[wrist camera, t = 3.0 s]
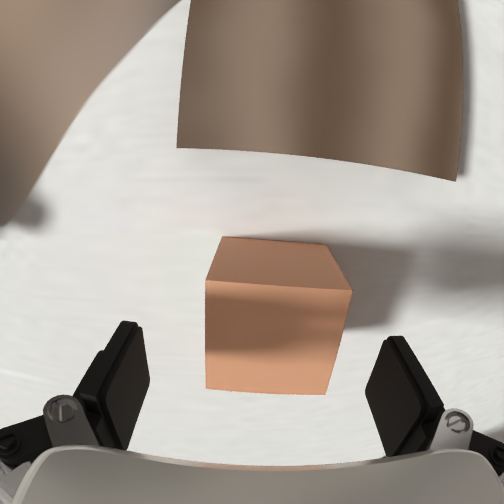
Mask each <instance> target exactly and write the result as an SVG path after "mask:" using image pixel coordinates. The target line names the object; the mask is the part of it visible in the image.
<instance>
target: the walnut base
mask: <svg viewBox="0 0 504 504" xmlns="http://www.w3.org/2000/svg"><path fill="white" fill-rule="evenodd" d="M462 111H463V55H462V38H461V26H460V17H459V8H458V1H457V0H191V4H190V10H189V18H188V25H187V33H186V41H185V49H184V59H183V68H182V79H181V90H180V102H179V116H178V132H177V148H198V149H223V150H240V151H255V152H268V153H279V154H290V155H300V156H309V157H317V158H325V159H333V160H341V161H348V162H355V163H361V164H368V165H374V166H380V167H386V168H391V169H397V170H402V171H408V172H413V173H418V174H423V175H428V176H432V177H437V178H441V179H446V180H450V181H455V182H456V177H457V170H458V161H459V152H460V142H461V129H462Z"/></svg>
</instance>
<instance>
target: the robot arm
mask: <svg viewBox="0 0 504 504" xmlns="http://www.w3.org/2000/svg"><path fill="white" fill-rule="evenodd" d="M149 383H150V376H149V370H148V364H147V358H146V351H145V345H144V338H143V331H142V327H139V326H138V324H137V323H136V322H130V321H122V322H121V323H120V324H119V326H118V328H117V329H116V331H115V333H114V334H113V336H112V338H111V339H110V341H109V343H108V344H107V346H106V348H105V349H104V351H102V350H101V351H99V352H98V353H97V355H96V357H95V358H94V360H93V362H92V363H91V365H90V367H89V368H88V370H87V372H86V373H85V375H84V377H83V379H82V380H81V382H80V384H79V385H78V387H77V389H76V391H75V392H74V394H73V396H70V395H58V396H55V397H53V398H51V399H50V400H48V401H47V403H46V404H45V405H44V409H43V415H42V416H39V417H36V418H33V419H30V420H27V421H24V422H21V423H18V424H14V425H11V426H8V427H5V428H2V429H0V504H504V443H502V442H499V441H497V440H495V439H492V438H490V437H488V436H485V435H483V434H481V433H479V432H476V431H474V430H473V421H472V419H471V417H470V416H469V415H468V414H467V413H466V412H464V411H462V410H460V409H448V410H446V411H445V409H444V407H443V406H444V404H443V402H442V400H441V399H440V397H439V395H438V393H437V392H436V390H435V388H434V386H433V385H432V383H431V381H430V379H429V378H428V376H427V374H426V373H425V371H424V369H423V368H422V366H421V364H420V363H419V361H418V359H417V358H416V356H415V354H414V353H413V351H412V349H411V348H410V346H409V345H408V343H407V341H406V340H405V338H404V337H403V336H389V337H388V338H387V340H384V341H383V344H382V346H381V349H380V352H379V355H378V357H377V360H376V363H375V365H374V368H373V371H372V373H371V376H370V378H369V381H368V383H367V386H366V389H365V395H366V398H367V401H368V404H369V406H370V409H371V412H372V415H373V418H374V421H375V424H376V427H377V429H378V432H379V435H380V438H381V441H382V444H383V447H384V450H385V453H386V456H387V457H385V458H380V459H373V460H365V461H357V462H348V463H337V464H324V465H305V466H249V465H230V464H216V463H205V462H196V461H188V460H180V459H173V458H166V457H160V456H153V455H147V454H142V453H137V452H131V451H126V450H127V448H128V445H129V442H130V439H131V436H132V433H133V430H134V427H135V424H136V422H137V419H138V416H139V413H140V410H141V407H142V404H143V401H144V399H145V396H146V393H147V390H148V387H149Z"/></svg>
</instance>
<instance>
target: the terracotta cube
mask: <svg viewBox="0 0 504 504" xmlns="http://www.w3.org/2000/svg"><path fill="white" fill-rule="evenodd" d="M352 292H353V290H352V288H351V286H350V285H349V283H348V281H347V279H346V278H345V276H344V274H343V272H342V271H341V269H340V267H339V266H338V264H337V262H336V261H335V259H334V257H333V256H332V254H331V252H330V251H329V249H328V247H327V246H326V245H323V244H311V243H299V242H286V241H274V240H261V239H248V238H235V237H222V238H221V241H220V243H219V246H218V249H217V251H216V254H215V256H214V259H213V262H212V264H211V267H210V269H209V272H208V275H207V277H206V280H205V370H206V389H215V390H226V391H237V392H251V393H268V394H296V395H325V394H326V391H327V388H328V384H329V381H330V377H331V374H332V371H333V367H334V364H335V360H336V356H337V353H338V349H339V345H340V342H341V338H342V334H343V330H344V326H345V322H346V318H347V314H348V309H349V305H350V301H351V296H352Z"/></svg>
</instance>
